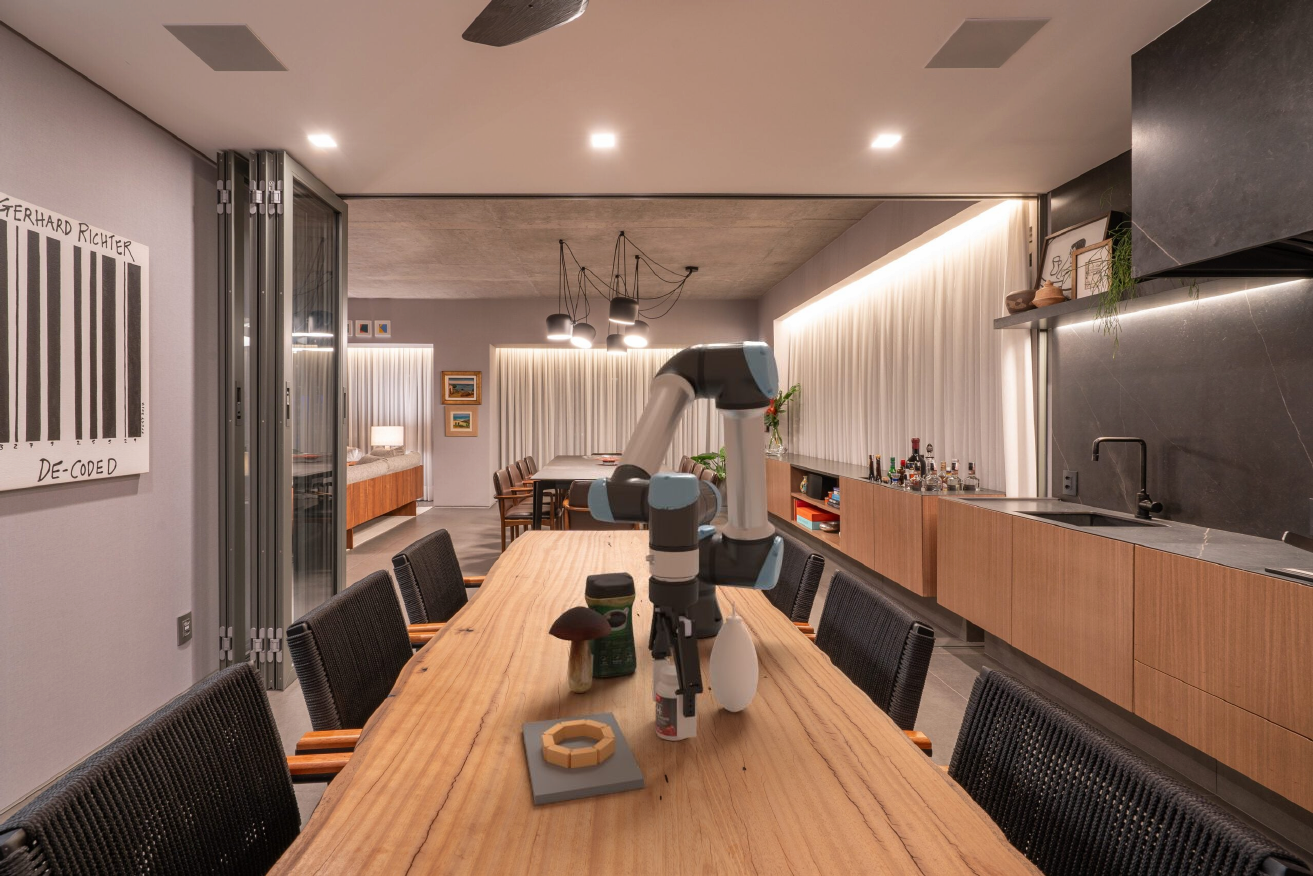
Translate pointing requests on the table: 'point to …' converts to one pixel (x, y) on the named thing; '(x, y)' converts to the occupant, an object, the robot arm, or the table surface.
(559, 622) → the decorative mushroom
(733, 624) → the sauce bottle
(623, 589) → the coffee jar
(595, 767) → the socket board
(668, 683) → the pill bottle
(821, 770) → the table surface
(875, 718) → the table surface
